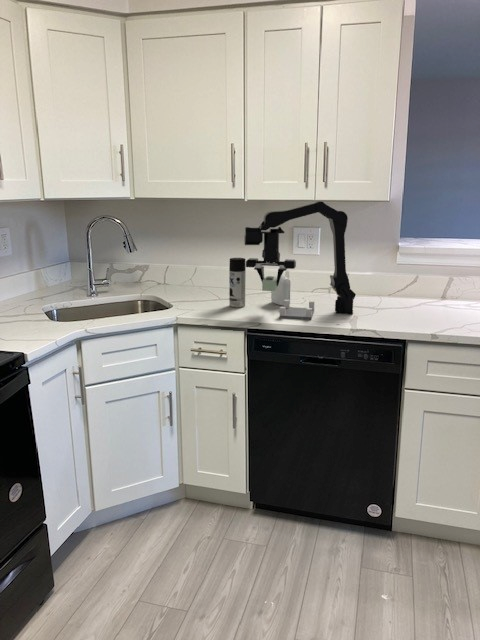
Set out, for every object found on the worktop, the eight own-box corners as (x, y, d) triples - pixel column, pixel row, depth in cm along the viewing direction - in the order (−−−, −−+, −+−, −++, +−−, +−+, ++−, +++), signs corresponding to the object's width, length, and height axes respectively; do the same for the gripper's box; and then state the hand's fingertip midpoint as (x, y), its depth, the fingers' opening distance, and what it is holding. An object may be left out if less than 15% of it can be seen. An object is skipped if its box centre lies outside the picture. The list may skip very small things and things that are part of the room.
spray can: (226, 305, 217) (226, 257, 212) (240, 303, 220) (241, 256, 215) (233, 308, 212) (233, 259, 207) (248, 306, 215) (248, 258, 210)
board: (278, 286, 205) (278, 274, 204) (275, 291, 196) (275, 278, 195) (266, 286, 206) (266, 274, 205) (262, 290, 197) (262, 278, 196)
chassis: (314, 310, 208) (314, 301, 207) (311, 319, 194) (311, 309, 193) (284, 309, 210) (284, 299, 209) (279, 318, 196) (279, 307, 195)
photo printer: (269, 302, 223) (270, 274, 220) (277, 301, 225) (278, 273, 222) (282, 306, 215) (283, 277, 212) (291, 305, 217) (292, 276, 214)
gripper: (298, 243, 202) (296, 282, 206) (251, 242, 206) (250, 281, 210) (294, 246, 192) (293, 288, 196) (245, 245, 196) (245, 286, 200)
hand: (270, 285), depth 201 cm, fingers closed on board, 5 cm apart
